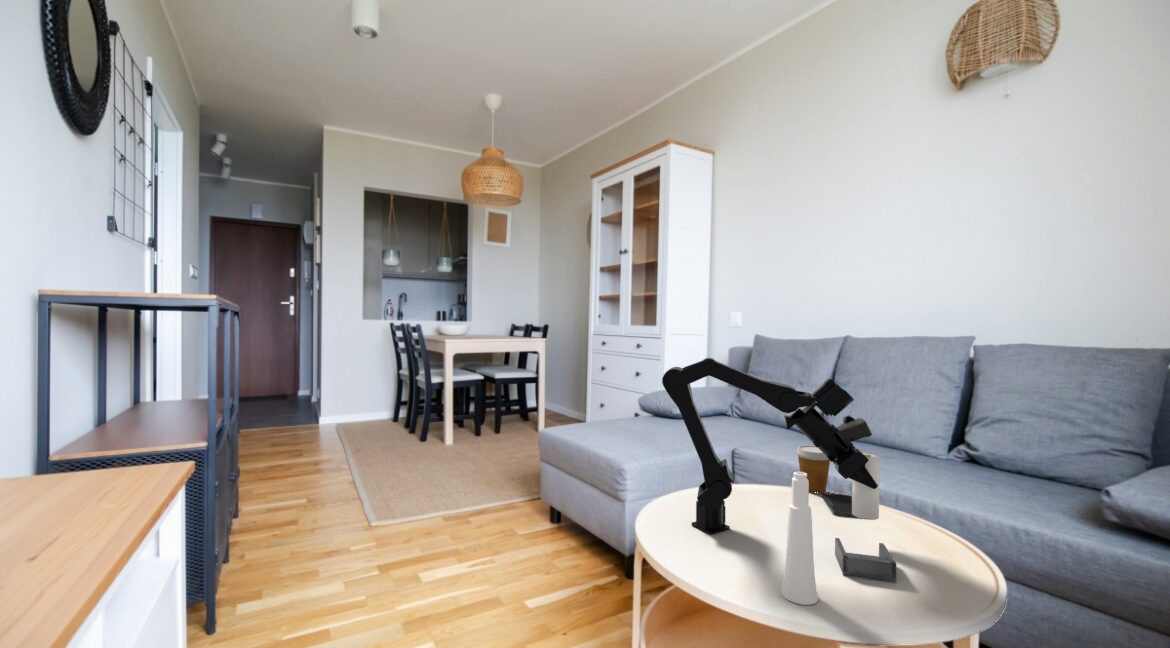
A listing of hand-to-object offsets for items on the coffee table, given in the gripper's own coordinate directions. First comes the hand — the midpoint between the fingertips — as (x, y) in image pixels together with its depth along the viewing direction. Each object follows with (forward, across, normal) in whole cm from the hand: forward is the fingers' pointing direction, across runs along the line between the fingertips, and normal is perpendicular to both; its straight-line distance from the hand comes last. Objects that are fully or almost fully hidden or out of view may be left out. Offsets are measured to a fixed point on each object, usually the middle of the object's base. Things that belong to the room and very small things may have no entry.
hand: (872, 483), depth 111 cm
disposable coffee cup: (+5, +35, +14) cm, 38 cm away
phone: (+9, +23, +11) cm, 27 cm away
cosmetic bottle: (-3, -26, +23) cm, 35 cm away
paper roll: (+4, 0, +6) cm, 7 cm away
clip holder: (+6, -12, +13) cm, 19 cm away
